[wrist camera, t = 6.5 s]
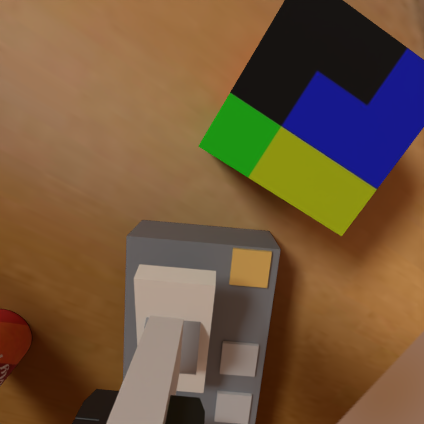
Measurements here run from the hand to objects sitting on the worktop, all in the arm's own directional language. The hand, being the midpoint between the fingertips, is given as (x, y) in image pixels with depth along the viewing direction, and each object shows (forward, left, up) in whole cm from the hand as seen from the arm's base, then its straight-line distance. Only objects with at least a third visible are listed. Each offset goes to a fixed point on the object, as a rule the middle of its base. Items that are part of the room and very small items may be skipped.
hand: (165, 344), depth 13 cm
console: (+1, -11, -15) cm, 19 cm away
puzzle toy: (+7, +11, -16) cm, 20 cm away
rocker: (0, -4, -10) cm, 10 cm away
